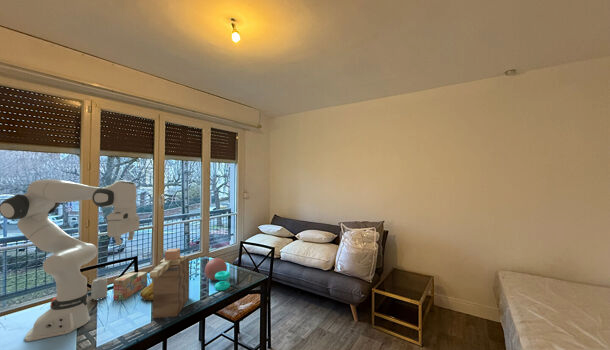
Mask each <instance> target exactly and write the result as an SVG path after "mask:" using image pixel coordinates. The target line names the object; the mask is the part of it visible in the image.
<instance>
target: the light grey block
mask: <svg viewBox="0 0 610 350" xmlns="http://www.w3.org/2000/svg"><path fill="white" fill-rule="evenodd" d="M90 288H91V289H90V291H91V293H90V294H91V297H92V298H93V299H101V298H103V299H105V298H106V297H107V296H108V279H107V277H106V276H102V277H97V278H94V279H93V280H92V282H91V287H90ZM91 297H90V298H91ZM104 297H105V298H104ZM101 300H102V299H101Z"/></svg>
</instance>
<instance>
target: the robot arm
mask: <svg viewBox="0 0 610 350" xmlns="http://www.w3.org/2000/svg"><path fill="white" fill-rule="evenodd" d="M137 194H138V193H137V186H136V183H135V182H133V181H131V180H125V179H124V180H123V179H119V180H118V179H117V180H116V181H114V183H112V184H110V185H107V186H104V187H97V186H91V185H86V184H82V183H76V182H73V181H68V180H62V179H53V178H51V179H47V178H44V179H37V180H34V181H32V182H31V183H30V184H29V185H28V187H27V192H26V193H23V194H19V193H18V194H16V195H14V196H11V197H9V198H6V199H4V200H3V201H1V202H0V214H1V216H2V217H3V218H5V219H7V220H18V221H17V224H16V225H17V228H18V229H19V230H20V232H21V234H23V236H24V237H25V238H26V239H27V240H29V241H30V242H31V243H32V244H34V246H35V247H37V248H38V249H39V250H40V251H42V252H46V253H51V255H50V256H48V257H46V259H45V260H44V261H43V264H42V269H43V271H44V273H46V274H47V275H50V276H51V277H53V280H54V282H55V285H56V297H54V298H53V297H52V300H51V302H50V305H49V306H50V308H49V309H48V310H46V311H45V312H44V313H42V314H41V315H39V317H37V319H36V320H35V321H34V324H33V326H32V328H31V329H30V330H29V331H27V333H26V334H25V335H24V341H25V342H31V341H32V342H33V341H38V340H41V339H42V340H43V339H46V338H47V339H48V338H51V337H52V338H53V337H57V336H62V335H67V334H70V333H72V332H73V331H75V330H77V329H78V328H80V327H83V326H84V325H86V324H88V322H90V321H91V316H90V313H89V309H88V302H89V294H88V291H87V289H88V287H87V286H88V279H87V277H86V275H83V274H82V273H81V270H80V268H81V267H82V266H85V265H86V264H88V263H90V262H91V261H93V259H95V258H96V257H97V255H98V253H99V252H98V251H99V250H98V247H97V246H96V245H95V244H93V243H89V242H84V241H82V240H80V239H77V238H75V237H74V236H71V235H70V234H68V233H67V232H65V231H64V230H63V229H62V228H61V227H60V226H58V225H57V224H56V223H55V222H53V220H51V219H50V217H49V215H51V214H53V213H55V211H56V209H58V208H59V206H60V205H61V203H62V204H63V203H72V202H80V201H86V200H92V202H93V204H94V205H95V206H97V207H99V208H110V207H112V208H113V211H111V212H110V213H109V214H108V215H106V220H107V224H106V225H107V226H106V227H107V229H106V231H107V233H106V234H107V237H109V238H113V239H114V241H115V245H116V246H120V245H122V244H123V240H122V239H121V238H122V236H123V235H126V234H128V236H127V241H132V240H133V239H134V235H135V231H136V230H139V228H140V226H141V225H140V216H139V215H138V213H137V204H136V203H137Z"/></svg>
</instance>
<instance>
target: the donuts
mask: <svg viewBox="0 0 610 350" xmlns="http://www.w3.org/2000/svg"><path fill="white" fill-rule="evenodd" d="M230 276H231V272H230V271H228V270H227V271H221V272H218V273H216V274H215V278H216V279H217V280H216V281H218V282H216V283H215V284H214V290H216V291H227V289H229V288H230V287H231V283H230V282H229V281H228V280H227V279H228V278H230Z"/></svg>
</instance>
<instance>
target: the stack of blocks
mask: <svg viewBox="0 0 610 350" xmlns="http://www.w3.org/2000/svg"><path fill="white" fill-rule="evenodd" d="M147 286H148V271H138V272H127V273H126V274H124V275H121V276H120V277H118V278H115V279H114V280H113V289H112V291H113V298H112V300H113V299H117V300H116V301H123V299H124V300H125V299H127V298H128V297H130V296H132V295H134V294H135V293H136V292H138V291H139V290H143V289H144V288H145V287H147ZM118 299H119V300H118Z"/></svg>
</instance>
